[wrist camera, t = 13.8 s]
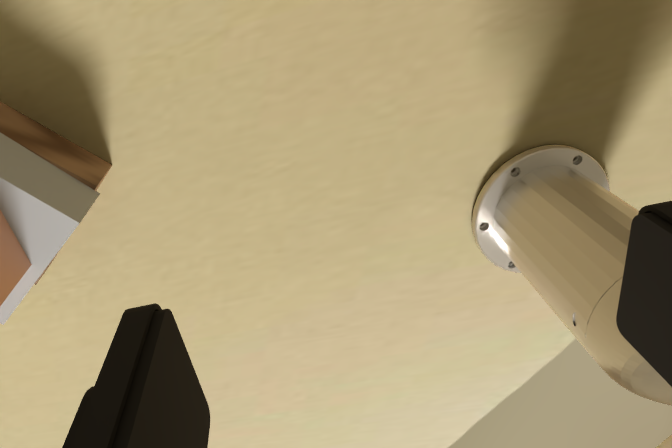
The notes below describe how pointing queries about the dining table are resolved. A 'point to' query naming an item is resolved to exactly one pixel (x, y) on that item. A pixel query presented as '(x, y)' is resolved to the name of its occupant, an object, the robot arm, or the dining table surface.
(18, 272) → the block
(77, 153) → the tower base
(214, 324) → the dining table surface
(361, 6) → the dining table surface
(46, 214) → the tower top
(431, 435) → the dining table surface
